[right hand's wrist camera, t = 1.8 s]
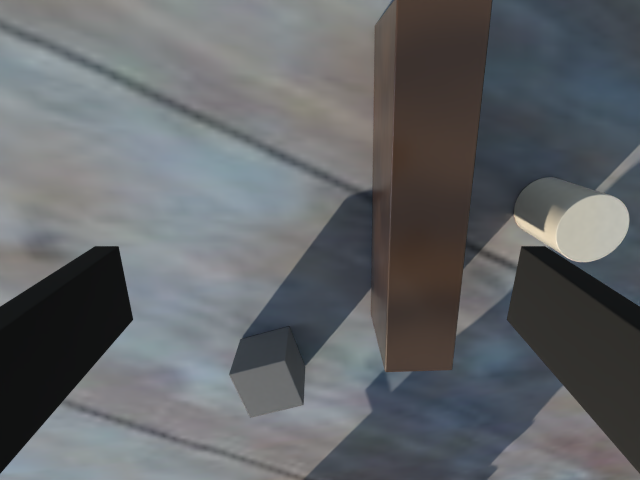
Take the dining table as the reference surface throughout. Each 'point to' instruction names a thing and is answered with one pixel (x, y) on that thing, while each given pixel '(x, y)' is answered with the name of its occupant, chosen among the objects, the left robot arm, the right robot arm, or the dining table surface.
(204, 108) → the dining table surface
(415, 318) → the walnut plank
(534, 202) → the cylinder
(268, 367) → the grey rubber block
